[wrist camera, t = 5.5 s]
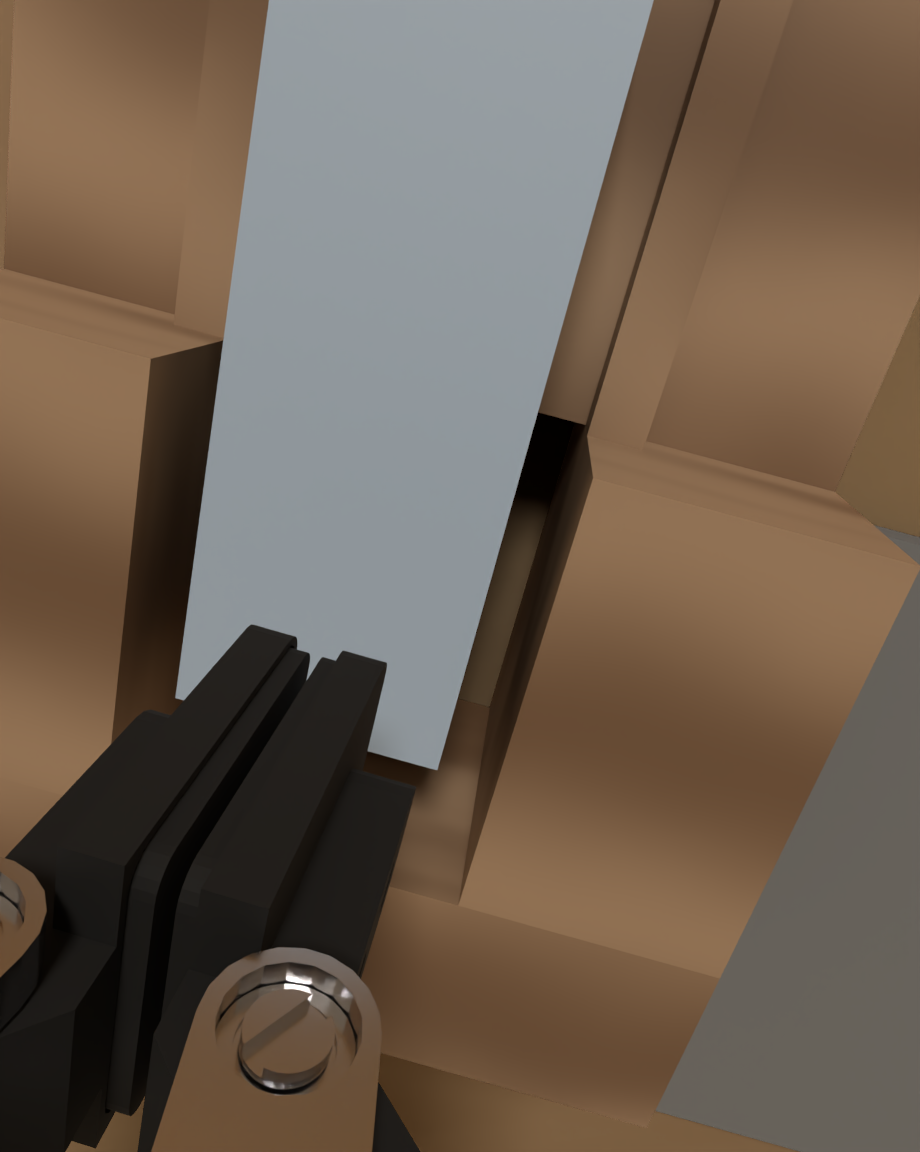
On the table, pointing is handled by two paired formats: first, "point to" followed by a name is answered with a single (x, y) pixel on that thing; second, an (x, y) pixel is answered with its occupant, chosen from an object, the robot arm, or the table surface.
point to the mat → (831, 946)
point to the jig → (573, 524)
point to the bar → (397, 325)
